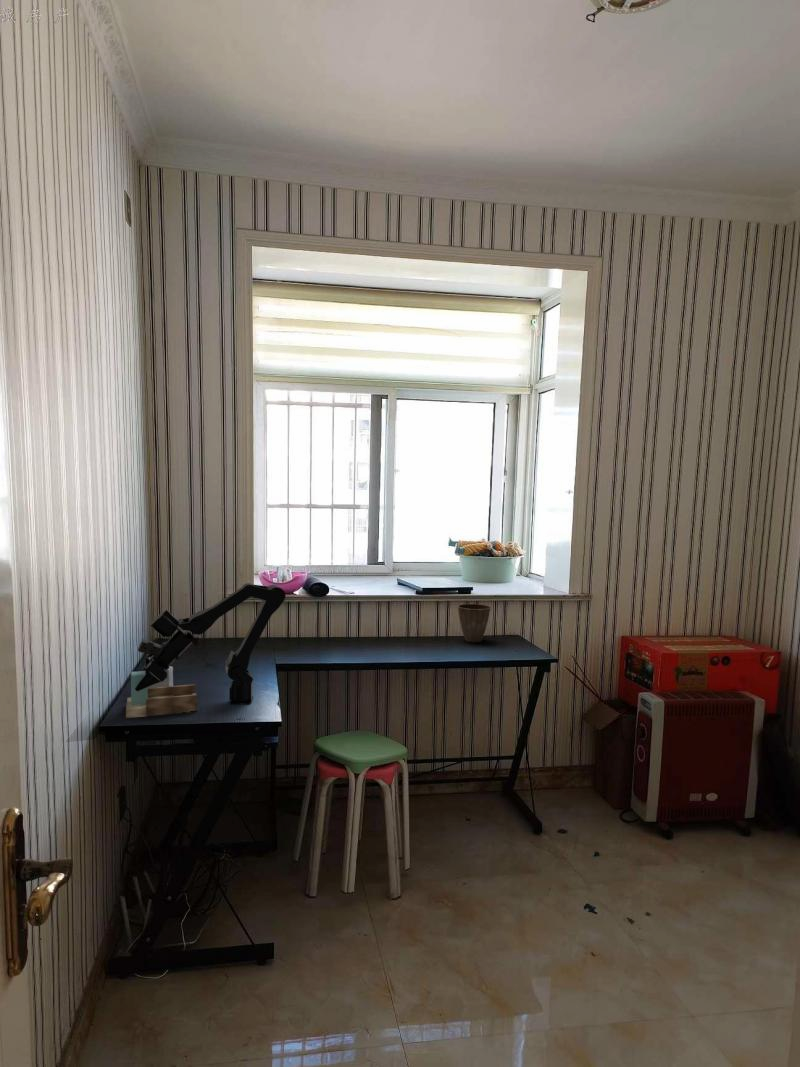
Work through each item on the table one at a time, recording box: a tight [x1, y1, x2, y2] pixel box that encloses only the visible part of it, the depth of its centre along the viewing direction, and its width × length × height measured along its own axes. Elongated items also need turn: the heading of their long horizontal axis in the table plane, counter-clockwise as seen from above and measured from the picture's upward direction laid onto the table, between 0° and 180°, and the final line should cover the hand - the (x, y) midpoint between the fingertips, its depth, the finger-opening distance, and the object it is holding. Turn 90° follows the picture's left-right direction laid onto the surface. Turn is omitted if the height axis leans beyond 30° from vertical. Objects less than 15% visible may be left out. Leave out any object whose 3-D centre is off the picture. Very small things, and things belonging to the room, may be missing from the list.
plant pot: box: [457, 603, 491, 643], centre depth 303 cm, size 15×15×16 cm
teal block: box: [130, 670, 147, 705], centre depth 199 cm, size 4×4×9 cm
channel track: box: [125, 683, 198, 719], centre depth 201 cm, size 20×12×5 cm, turn 110°
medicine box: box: [147, 665, 174, 688], centre depth 216 cm, size 8×4×9 cm, turn 92°
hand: (136, 685), depth 198 cm, fingers open, 9 cm apart
